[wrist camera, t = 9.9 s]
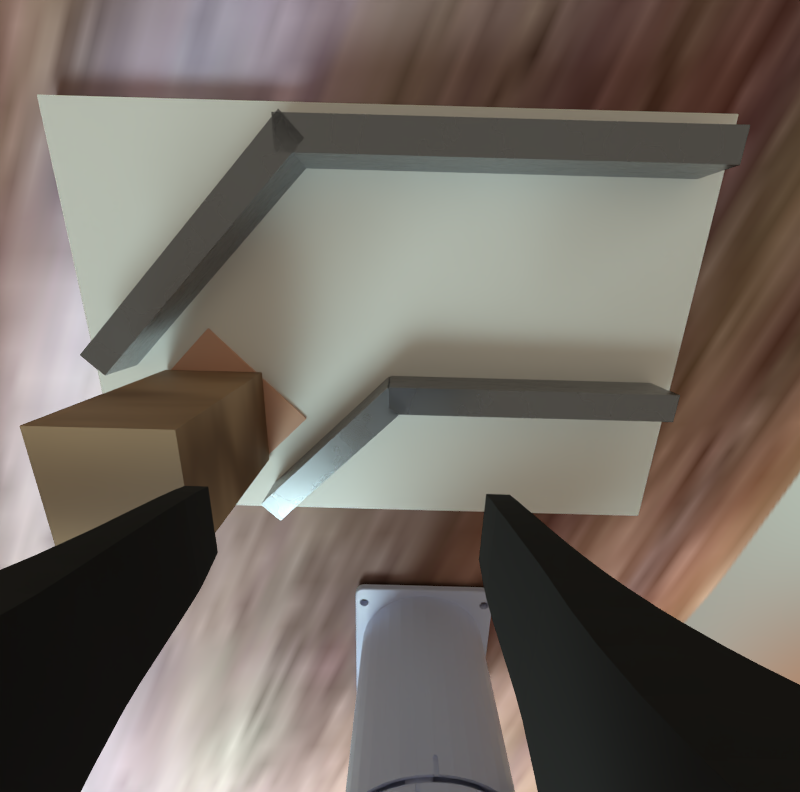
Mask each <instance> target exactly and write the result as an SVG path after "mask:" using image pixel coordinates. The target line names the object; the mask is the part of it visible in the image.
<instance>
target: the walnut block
mask: <svg viewBox="0 0 800 792" xmlns="http://www.w3.org/2000/svg"><path fill="white" fill-rule="evenodd" d="M20 429H21V432H22V436H23V439H24V442H25V446H26V449H27V452H28V456H29V459H30V463H31V466H32V469H33V473H34V476H35V479H36V483H37V486H38V489H39V493H40V496H41V499H42V503H43V506H44V510H45V513H46V516H47V520H48V523H49V526H50V530H51V533H52V536H53V540H54V543H55V546H57V545H59V544H61V543H63V542H65V541H68V540H70V539H72V538H74V537H76V536H78V535H81V534H83V533H85V532H87V531H89V530H91V529H94V528H96V527H98V526H100V525H102V524H104V523H106V522H108V521H110V520H112V519H114V518H116V517H118V516H120V515H122V514H124V513H126V512H128V511H130V510H133V509H135V508H137V507H139V506H141V505H143V504H145V503H147V502H149V501H151V500H153V499H155V498H157V497H159V496H162V495H164V494H166V493H168V492H170V491H173V490H175V489H178V488H180V487H183V486H208V488H209V495H210V502H211V509H212V516H213V523H214V530H215V532H216V531H217V530H218V528H219V527H220V526H221V524H222V523H223V522H224V520H225V519H226V517H227V516H228V515H229V513H230V512H231V511H232V509H233V508H234V507H235V505H236V504H237V503H238V501H239V500H240V499H241V497H242V496H243V494H244V493H245V492H246V490H247V489H248V488H249V486H250V485H251V484H252V482H253V481H254V480H255V478H256V477H257V476H258V474H259V473H260V471H261V470H262V469H263V467H264V466H265V465H266V463H267V462H268V461H269V448H268V437H267V426H266V414H265V403H264V391H263V380H262V372H232V371H193V370H164V371H161V372H158V373H156V374H153V375H151V376H148V377H145V378H143V379H140V380H138V381H135V382H132V383H130V384H127V385H125V386H122V387H119V388H117V389H114V390H112V391H109V392H106V393H104V394H101V395H99V396H96V397H93V398H91V399H88V400H86V401H83V402H80V403H78V404H75V405H72V406H70V407H67V408H65V409H62V410H59V411H57V412H54V413H52V414H49V415H46V416H44V417H41V418H39V419H36V420H33V421H31V422H28V423H26V424H23V425H20Z"/></svg>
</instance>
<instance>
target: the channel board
mask: <svg viewBox="0 0 800 792" xmlns="http://www.w3.org/2000/svg"><path fill="white" fill-rule="evenodd" d="M37 97H38V102H39V106H40V111H41V115H42V120H43V125H44V129H45V134H46V138H47V143H48V147H49V152H50V156H51V161H52V166H53V170H54V175H55V179H56V184H57V188H58V193H59V197H60V202H61V206H62V211H63V216H64V220H65V225H66V229H67V234H68V238H69V243H70V247H71V252H72V256H73V261H74V266H75V270H76V275H77V279H78V284H79V288H80V293H81V297H82V302H83V307H84V311H85V316H86V320H87V325H88V329H89V334H90V338H91V341H92V339H93V338H94V337H95V336H96V334H97V333H98V332H99V331H100V329H101V328H102V327H103V326H104V324H105V323H106V322H107V321H108V319H109V318H110V317H111V316H112V314H113V313H114V312H115V311H116V309H117V308H118V307H119V306H120V305H121V303H122V302H123V301H124V300H125V298H126V297H127V296H128V295H129V293H130V292H131V291H132V290H133V288H134V287H135V286H136V285H137V283H138V282H139V281H140V280H141V278H142V277H143V276H144V275H145V273H146V272H147V271H148V270H149V268H150V267H151V266H152V265H153V263H154V262H155V261H156V260H157V259H158V257H159V256H160V255H161V254H162V252H163V251H164V250H165V249H166V247H167V246H168V245H169V244H170V242H171V241H172V240H173V239H174V237H175V236H176V235H177V234H178V232H179V231H180V230H181V229H182V227H183V226H184V225H185V224H186V222H187V221H188V220H189V219H190V217H191V216H192V215H193V214H194V213H195V211H196V210H197V209H198V208H199V206H200V205H201V204H202V203H203V201H204V200H205V199H206V198H207V196H208V195H209V194H210V193H211V191H212V190H213V189H214V188H215V186H216V185H217V184H218V183H219V181H220V180H221V179H222V178H223V176H224V175H225V174H226V173H227V171H228V170H229V169H230V168H231V167H232V165H233V164H234V163H235V162H236V160H237V159H238V158H239V157H240V155H241V154H242V153H243V152H244V150H245V149H246V148H247V147H248V145H249V144H250V143H251V142H252V140H253V139H254V138H255V137H256V135H257V134H258V133H259V132H260V130H261V129H262V128H263V127H264V125H265V124H266V123H267V122H268V121H269V119H270V118H271V117H272V115H271V112H276V111H277V109H279V110H280V111H281V112H300V113H336V114H373V115H409V116H446V117H482V118H518V119H555V120H591V121H628V122H664V123H701V124H736V123H737V119H738V115H739V114H721V113H685V112H649V111H612V110H576V109H539V108H503V107H467V106H430V105H394V104H357V103H321V102H284V101H248V100H212V99H175V98H139V97H102V96H66V95H37ZM724 171H725V170H723V171H720V172H717V173H714V174H711V175H708V176H705V177H702V178H699V179H674V178H638V177H601V176H565V175H528V174H492V173H455V172H419V171H382V170H346V169H309V168H306V169H305V170H304V171H303V173H302V174H301V175H300V176H299V177H298V178H297V180H296V181H295V182H294V183H293V184H292V185H291V187H290V188H289V189H288V190H287V191H286V192H285V194H284V195H283V196H282V197H281V198H280V199H279V201H278V202H277V203H276V204H275V205H274V206H273V208H272V209H271V210H270V211H269V212H268V213H267V215H266V216H265V217H264V218H263V219H262V220H261V222H260V223H259V224H258V225H257V226H256V227H255V229H254V230H253V231H252V232H251V233H250V234H249V235H248V237H247V238H246V239H245V240H244V241H243V242H242V244H241V245H240V246H239V247H238V248H237V249H236V251H235V252H234V253H233V254H232V255H231V256H230V258H229V259H228V260H227V261H226V262H225V263H224V265H223V266H222V267H221V268H220V269H219V270H218V272H217V273H216V274H215V275H214V276H213V277H212V279H211V280H210V281H209V282H208V283H207V284H206V286H205V287H204V288H203V289H202V290H201V291H200V293H199V294H198V295H197V296H196V297H195V298H194V300H193V301H192V302H191V303H190V304H189V305H188V307H187V308H186V309H185V310H184V311H183V312H182V314H181V315H180V316H179V317H178V318H177V319H176V320H175V322H174V323H173V324H172V325H171V326H170V327H169V329H168V330H167V331H166V332H165V333H164V334H163V336H162V337H161V338H160V339H159V340H158V341H157V343H156V344H155V345H154V346H153V347H152V348H151V350H150V351H149V352H148V353H147V354H146V355H145V357H144V358H143V359H142V360H141V361H140V362H139V364H138V365H136V366H133V367H130V368H127V369H124V370H121V371H117V372H114V373H111V374H108V375H104V374H102V373H101V372H100V371H99V370H98V375H99V379H100V384H101V388H102V393H103V394H104V393H106V392H109V391H112V390H114V389H117V388H119V387H122V386H125V385H127V384H130V383H132V382H135V381H138V380H140V379H143V378H145V377H148V376H151V375H153V374H156V373H158V372H161V371H164V370H193V371H232V372H262V380H263V391H264V403H265V414H266V426H267V437H268V448H269V461H268V462H267V463H266V465H265V466H264V467H263V469H262V470H261V471H260V473H259V474H258V476H257V477H256V478H255V480H254V481H253V482H252V484H251V485H250V486H249V488H248V489H247V490H246V492H245V493H244V494H243V496H242V497H241V499H240V500H239V501H238V503H237V504H236V505H255V506H262V505H261V503H262V502H263V500H264V499H265V497H266V496H267V494H268V492H269V491H270V489H271V488H272V486H273V484H274V483H275V482H276V481H277V480H278V479H279V478H280V477H281V476H282V475H283V474H284V473H285V472H286V471H287V470H289V469H290V468H291V467H292V466H293V465H294V464H295V463H296V462H297V461H298V460H299V459H300V458H302V457H303V456H304V455H305V454H306V453H307V452H308V451H309V450H310V449H311V448H312V447H313V446H314V445H316V444H317V443H318V442H319V441H320V440H321V439H322V438H323V437H324V436H325V435H326V434H327V433H328V432H330V431H331V430H332V429H333V428H334V427H335V426H336V425H337V424H338V423H339V422H340V421H341V420H343V419H344V418H345V417H346V416H347V415H348V414H349V413H350V412H351V411H352V410H353V409H354V408H355V407H357V406H358V405H359V404H360V403H361V402H362V401H363V400H364V399H365V398H366V397H367V396H368V395H369V394H371V393H372V392H373V391H374V390H375V389H376V388H377V387H378V386H379V385H380V384H381V383H382V382H384V381H385V380H386V379H387V378H388V377H391V376H419V377H455V378H492V379H529V380H566V381H603V382H640V383H652V384H654V385H656V386H659V387H661V388H664V389H666V390H668V391H669V390H670V386H671V382H672V378H673V374H674V370H675V366H676V362H677V358H678V354H679V351H680V347H681V343H682V339H683V335H684V331H685V327H686V323H687V319H688V315H689V311H690V307H691V303H692V299H693V295H694V291H695V287H696V283H697V279H698V275H699V271H700V267H701V263H702V259H703V255H704V251H705V247H706V243H707V239H708V235H709V231H710V227H711V223H712V219H713V215H714V211H715V207H716V203H717V199H718V195H719V191H720V187H721V183H722V179H723V175H724ZM660 426H661V422H651V421H614V420H577V419H540V418H503V417H466V416H429V415H398V416H397V417H396V418H395V419H394V420H393V421H392V422H391V423H389V424H388V425H387V426H386V427H385V428H384V429H383V430H382V431H380V432H379V433H378V434H377V435H376V436H375V437H374V438H373V439H371V440H370V441H369V442H368V443H367V444H366V445H365V446H364V447H362V448H361V449H360V450H359V451H358V452H357V453H356V454H355V455H353V456H352V457H351V458H350V459H349V460H348V461H347V462H346V463H344V464H343V465H342V466H341V467H340V468H339V469H338V470H337V471H335V472H334V473H333V474H332V475H331V476H330V477H329V478H328V479H326V480H325V481H324V482H323V483H322V484H321V485H320V486H319V487H317V488H316V489H315V490H314V491H313V492H312V493H311V494H310V495H308V496H307V497H306V498H305V499H304V500H303V501H302V502H301V503H299V504H298V505H297V506H296V507H330V508H367V509H404V510H441V511H478V512H484V509H485V500H486V494H506V495H511V496H512V497H513V498H515V499H516V500H517V501H518V502H519V503H521V504H522V505H523V506H524V507H525V508H526V509H528V510H529V511H530V512H531V513H552V514H590V515H627V516H638V514H639V510H640V506H641V502H642V498H643V494H644V490H645V486H646V482H647V478H648V474H649V470H650V466H651V462H652V458H653V454H654V450H655V446H656V442H657V438H658V434H659V430H660Z"/></svg>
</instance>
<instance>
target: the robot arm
mask: <svg viewBox="0 0 800 792" xmlns="http://www.w3.org/2000/svg"><path fill="white" fill-rule="evenodd" d="M217 553H218V551H217V544H216V537H215V530H214V523H213V516H212V509H211V502H210V495H209V488H208V486H183V487H180V488H178V489H175V490H173V491H170V492H168V493H166V494H164V495H162V496H159V497H157V498H155V499H153V500H151V501H149V502H147V503H145V504H143V505H141V506H139V507H137V508H135V509H133V510H130V511H128V512H126V513H124V514H122V515H120V516H118V517H116V518H114V519H112V520H110V521H108V522H106V523H104V524H102V525H100V526H98V527H96V528H94V529H91V530H89V531H87V532H85V533H83V534H81V535H78V536H76V537H74V538H72V539H70V540H68V541H65V542H63V543H61V544H59V545H57V546H54V547H52V548H50V549H48V550H46V551H44V552H41V553H39V554H37V555H35V556H32V557H30V558H28V559H25V560H23V561H21V562H18V563H16V564H13V565H11V566H9V567H6V568H4V569H1V570H0V792H81V790H82V788H83V786H84V784H85V782H86V780H87V778H88V776H89V774H90V772H91V770H92V768H93V766H94V765H95V763H96V761H97V759H98V757H99V755H100V753H101V752H102V750H103V748H104V746H105V744H106V742H107V740H108V738H109V737H110V735H111V733H112V731H113V729H114V727H115V725H116V724H117V722H118V720H119V718H120V716H121V714H122V712H123V711H124V709H125V707H126V705H127V704H128V702H129V701H130V699H131V697H132V696H133V694H134V692H135V691H136V689H137V687H138V686H139V684H140V682H141V681H142V679H143V678H144V676H145V675H146V673H147V672H148V670H149V668H150V667H151V665H152V664H153V662H154V661H155V659H156V658H157V656H158V655H159V653H160V652H161V650H162V648H163V647H164V645H165V644H166V642H167V641H168V639H169V638H170V636H171V635H172V633H173V631H174V630H175V628H176V627H177V625H178V624H179V622H180V621H181V619H182V617H183V616H184V614H185V613H186V611H187V610H188V608H189V606H190V605H191V603H192V602H193V600H194V599H195V597H196V595H197V594H198V592H199V590H200V589H201V587H202V585H203V582H204V580H205V578H206V576H207V574H208V572H209V570H210V568H211V566H212V564H213V562H214V559H215V557H216V555H217ZM479 562H480V568H481V573H482V579H483V585H484V587H450V586H413V585H376V584H362V585H360V586H358V587H357V590H356V673H357V695H356V704H355V713H354V722H353V731H352V740H351V749H350V758H349V767H348V776H347V785H346V792H515V790H514V785H513V781H512V776H511V772H510V767H509V762H508V758H507V753H506V749H505V744H504V739H503V735H502V730H501V726H500V721H499V716H498V712H497V707H496V703H495V698H494V694H493V689H492V684H491V680H490V675H489V671H488V666H487V661H486V651H487V643H488V635H489V627H490V619H491V616H492V620H493V623H494V626H495V630H496V633H497V636H498V639H499V643H500V646H501V649H502V652H503V655H504V659H505V662H506V665H507V668H508V672H509V675H510V678H511V681H512V685H513V688H514V691H515V694H516V698H517V702H518V705H519V709H520V713H521V717H522V720H523V725H524V730H525V734H526V739H527V743H528V748H529V752H530V757H531V762H532V766H533V771H534V775H535V780H536V785H537V790H538V792H800V685H799V684H797V683H795V682H793V681H791V680H789V679H787V678H785V677H783V676H781V675H779V674H777V673H775V672H773V671H771V670H769V669H767V668H765V667H763V666H761V665H758V664H757V663H755V662H753V661H751V660H749V659H747V658H745V657H744V656H742V655H740V654H738V653H736V652H734V651H732V650H730V649H728V648H727V647H725V646H723V645H721V644H719V643H717V642H716V641H714V640H712V639H711V638H709V637H707V636H705V635H704V634H702V633H700V632H698V631H696V630H695V629H693V628H691V627H689V626H688V625H686V624H684V623H682V622H681V621H679V620H677V619H676V618H674V617H672V616H671V615H669V614H667V613H666V612H664V611H662V610H661V609H659V608H658V607H656V606H654V605H653V604H651V603H650V602H648V601H647V600H645V599H644V598H642V597H641V596H639V595H638V594H636V593H635V592H633V591H631V590H630V589H628V588H627V587H625V586H624V585H622V584H621V583H620V582H618V581H617V580H615V579H614V578H612V577H611V576H609V575H608V574H607V573H605V572H604V571H603V570H601V569H600V568H599V567H597V566H596V565H595V564H593V563H592V562H591V561H589V560H588V559H587V558H585V557H584V556H583V555H581V554H580V553H579V552H578V551H576V550H575V549H574V548H573V547H571V546H570V545H569V544H568V543H566V542H565V541H564V540H563V539H561V538H560V537H559V536H558V535H557V534H555V533H554V532H553V531H552V530H551V529H550V528H548V527H547V526H546V525H545V524H544V523H543V522H541V521H540V520H539V519H538V518H537V517H536V516H534V515H533V514H532V513H531V512H530V511H529V510H528V509H526V508H525V507H524V506H523V505H522V504H521V503H519V502H518V501H517V500H516V499H515V498H513V497H512V496H511V495H506V494H486V500H485V509H484V518H483V528H482V537H481V546H480V556H479ZM362 599H366V601H364V600H362ZM483 602H486V603H484V604H481V603H483Z"/></svg>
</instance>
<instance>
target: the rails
mask: <svg viewBox="0 0 800 792" xmlns="http://www.w3.org/2000/svg"><path fill="white" fill-rule="evenodd" d="M271 115H272V117H271V118H270V119H269V121H268V122H267V123H266V124H265V125H264V127H263V128H262V129H261V130H260V132H259V133H258V134H257V135H256V137H255V138H254V139H253V140H252V142H251V143H250V144H249V145H248V147H247V148H246V149H245V150H244V152H243V153H242V154H241V155H240V157H239V158H238V159H237V160H236V162H235V163H234V164H233V165H232V167H231V168H230V169H229V170H228V171H227V173H226V174H225V175H224V176H223V178H222V179H221V180H220V181H219V183H218V184H217V185H216V186H215V188H214V189H213V190H212V191H211V193H210V194H209V195H208V196H207V198H206V199H205V200H204V201H203V203H202V204H201V205H200V206H199V208H198V209H197V210H196V211H195V213H194V214H193V215H192V216H191V217H190V219H189V220H188V221H187V222H186V224H185V225H184V226H183V227H182V229H181V230H180V231H179V232H178V234H177V235H176V236H175V237H174V239H173V240H172V241H171V242H170V244H169V245H168V246H167V247H166V249H165V250H164V251H163V252H162V254H161V255H160V256H159V257H158V259H157V260H156V261H155V262H154V263H153V265H152V266H151V267H150V268H149V270H148V271H147V272H146V273H145V275H144V276H143V277H142V278H141V280H140V281H139V282H138V283H137V285H136V286H135V287H134V288H133V290H132V291H131V292H130V293H129V295H128V296H127V297H126V298H125V300H124V301H123V302H122V303H121V305H120V306H119V307H118V308H117V309H116V311H115V312H114V313H113V314H112V316H111V317H110V318H109V319H108V321H107V322H106V323H105V324H104V326H103V327H102V328H101V329H100V331H99V332H98V333H97V334H96V336H95V337H94V338H93V339H92V341H91V342H90V343H89V344H88V346H87V347H86V348H85V349H84V351H83V352H82V353H81V354H80V355H81V356H82V357H83V358H84V359H85V360H87V361H88V362H89V363H90V364H91V365H93V366H94V367H95V368H96V369H97V370H99V371H100V372H101V373H102V374H104V375H108V374H111V373H114V372H117V371H121V370H124V369H127V368H130V367H133V366H136V365H138V364H139V362H140V361H141V360H142V359H143V358H144V357H145V355H146V354H147V353H148V352H149V351H150V350H151V348H152V347H153V346H154V345H155V344H156V343H157V341H158V340H159V339H160V338H161V337H162V336H163V334H164V333H165V332H166V331H167V330H168V329H169V327H170V326H171V325H172V324H173V323H174V322H175V320H176V319H177V318H178V317H179V316H180V315H181V314H182V312H183V311H184V310H185V309H186V308H187V307H188V305H189V304H190V303H191V302H192V301H193V300H194V298H195V297H196V296H197V295H198V294H199V293H200V291H201V290H202V289H203V288H204V287H205V286H206V284H207V283H208V282H209V281H210V280H211V279H212V277H213V276H214V275H215V274H216V273H217V272H218V270H219V269H220V268H221V267H222V266H223V265H224V263H225V262H226V261H227V260H228V259H229V258H230V256H231V255H232V254H233V253H234V252H235V251H236V249H237V248H238V247H239V246H240V245H241V244H242V242H243V241H244V240H245V239H246V238H247V237H248V235H249V234H250V233H251V232H252V231H253V230H254V229H255V227H256V226H257V225H258V224H259V223H260V222H261V220H262V219H263V218H264V217H265V216H266V215H267V213H268V212H269V211H270V210H271V209H272V208H273V206H274V205H275V204H276V203H277V202H278V201H279V199H280V198H281V197H282V196H283V195H284V194H285V192H286V191H287V190H288V189H289V188H290V187H291V185H292V184H293V183H294V182H295V181H296V180H297V178H298V177H299V176H300V175H301V174H302V173H303V171H304V170H305V169H306V168H309V169H346V170H382V171H419V172H455V173H492V174H528V175H565V176H601V177H638V178H674V179H699V178H702V177H705V176H708V175H711V174H714V173H717V172H720V171H723V170H726V169H729V168H732V167H735V166H738V165H740V163H741V159H742V155H743V151H744V147H745V143H746V140H747V136H748V132H749V128H750V125H737V124H701V123H664V122H628V121H591V120H555V119H518V118H482V117H446V116H409V115H373V114H336V113H300V112H281V111H280V110H279V109H277V111H276V112H271ZM679 397H680V395H678V394H675V393H673V392H671V391H668V390H666V389H664V388H661V387H659V386H656V385H654V384H652V383H640V382H603V381H566V380H529V379H492V378H455V377H419V376H391V377H388V378H387V379H386V380H385V381H384V382H382V383H381V384H380V385H379V386H378V387H377V388H376V389H375V390H374V391H373V392H372V393H371V394H369V395H368V396H367V397H366V398H365V399H364V400H363V401H362V402H361V403H360V404H359V405H358V406H357V407H355V408H354V409H353V410H352V411H351V412H350V413H349V414H348V415H347V416H346V417H345V418H344V419H343V420H341V421H340V422H339V423H338V424H337V425H336V426H335V427H334V428H333V429H332V430H331V431H330V432H328V433H327V434H326V435H325V436H324V437H323V438H322V439H321V440H320V441H319V442H318V443H317V444H316V445H314V446H313V447H312V448H311V449H310V450H309V451H308V452H307V453H306V454H305V455H304V456H303V457H302V458H300V459H299V460H298V461H297V462H296V463H295V464H294V465H293V466H292V467H291V468H290V469H289V470H287V471H286V472H285V473H284V474H283V475H282V476H281V477H280V478H279V479H278V480H277V481H276V482H275V483H274V484H273V486H272V488H271V489H270V491H269V492H268V494H267V496H266V497H265V499H264V500H263V502H262V503H261V505H262V506H263V507H265V508H266V509H267V510H268V511H270V512H271V513H272V514H273V515H274V516H276V517H277V518H278V519H279V520H282V519H283V518H284V517H285V516H286V515H287V514H288V513H289V512H291V511H292V510H293V509H294V508H295V507H296V506H297V505H298V504H299V503H301V502H302V501H303V500H304V499H305V498H306V497H307V496H308V495H310V494H311V493H312V492H313V491H314V490H315V489H316V488H317V487H319V486H320V485H321V484H322V483H323V482H324V481H325V480H326V479H328V478H329V477H330V476H331V475H332V474H333V473H334V472H335V471H337V470H338V469H339V468H340V467H341V466H342V465H343V464H344V463H346V462H347V461H348V460H349V459H350V458H351V457H352V456H353V455H355V454H356V453H357V452H358V451H359V450H360V449H361V448H362V447H364V446H365V445H366V444H367V443H368V442H369V441H370V440H371V439H373V438H374V437H375V436H376V435H377V434H378V433H379V432H380V431H382V430H383V429H384V428H385V427H386V426H387V425H388V424H389V423H391V422H392V421H393V420H394V419H395V418H396V417H397V416H398V415H429V416H466V417H503V418H540V419H577V420H614V421H651V422H673V420H674V416H675V413H676V409H677V405H678V401H679Z"/></svg>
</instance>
